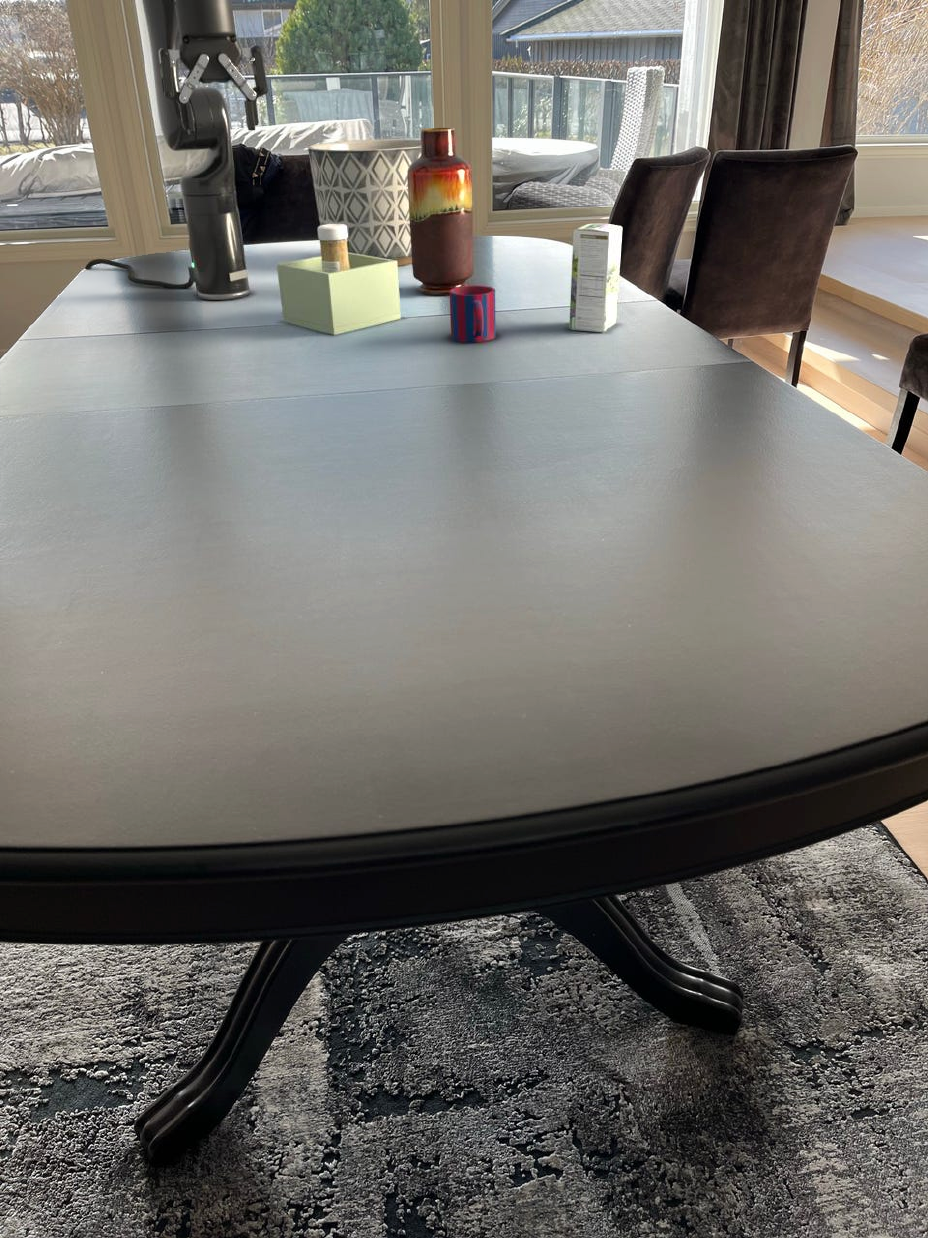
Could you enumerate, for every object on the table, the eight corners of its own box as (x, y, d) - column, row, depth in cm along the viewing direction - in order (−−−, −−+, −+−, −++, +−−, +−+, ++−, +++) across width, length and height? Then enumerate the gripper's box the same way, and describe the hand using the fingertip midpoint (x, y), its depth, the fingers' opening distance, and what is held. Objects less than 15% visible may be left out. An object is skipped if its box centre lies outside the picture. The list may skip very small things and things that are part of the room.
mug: (494, 330, 145) (493, 284, 141) (498, 347, 136) (497, 299, 133) (450, 332, 145) (449, 286, 141) (451, 349, 136) (450, 300, 133)
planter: (391, 245, 214) (384, 137, 203) (469, 258, 197) (466, 141, 186) (295, 262, 199) (282, 146, 188) (370, 278, 182) (361, 152, 171)
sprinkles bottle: (359, 313, 153) (352, 224, 146) (337, 318, 150) (328, 228, 143) (343, 309, 156) (335, 221, 149) (320, 314, 153) (311, 225, 146)
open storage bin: (283, 321, 154) (276, 263, 149) (349, 306, 162) (344, 251, 157) (334, 335, 145) (328, 274, 141) (400, 318, 153) (397, 260, 149)
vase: (403, 295, 168) (393, 131, 155) (428, 282, 177) (421, 126, 164) (460, 298, 165) (455, 130, 151) (483, 285, 174) (480, 125, 160)
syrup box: (581, 321, 148) (584, 222, 141) (617, 324, 146) (622, 223, 138) (568, 330, 144) (571, 228, 136) (605, 333, 141) (610, 229, 134)
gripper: (249, -3, 131) (265, 128, 140) (144, -2, 127) (167, 133, 135) (260, -7, 125) (276, 130, 134) (150, -6, 121) (174, 136, 129)
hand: (221, 131), depth 134 cm, fingers open, 8 cm apart
